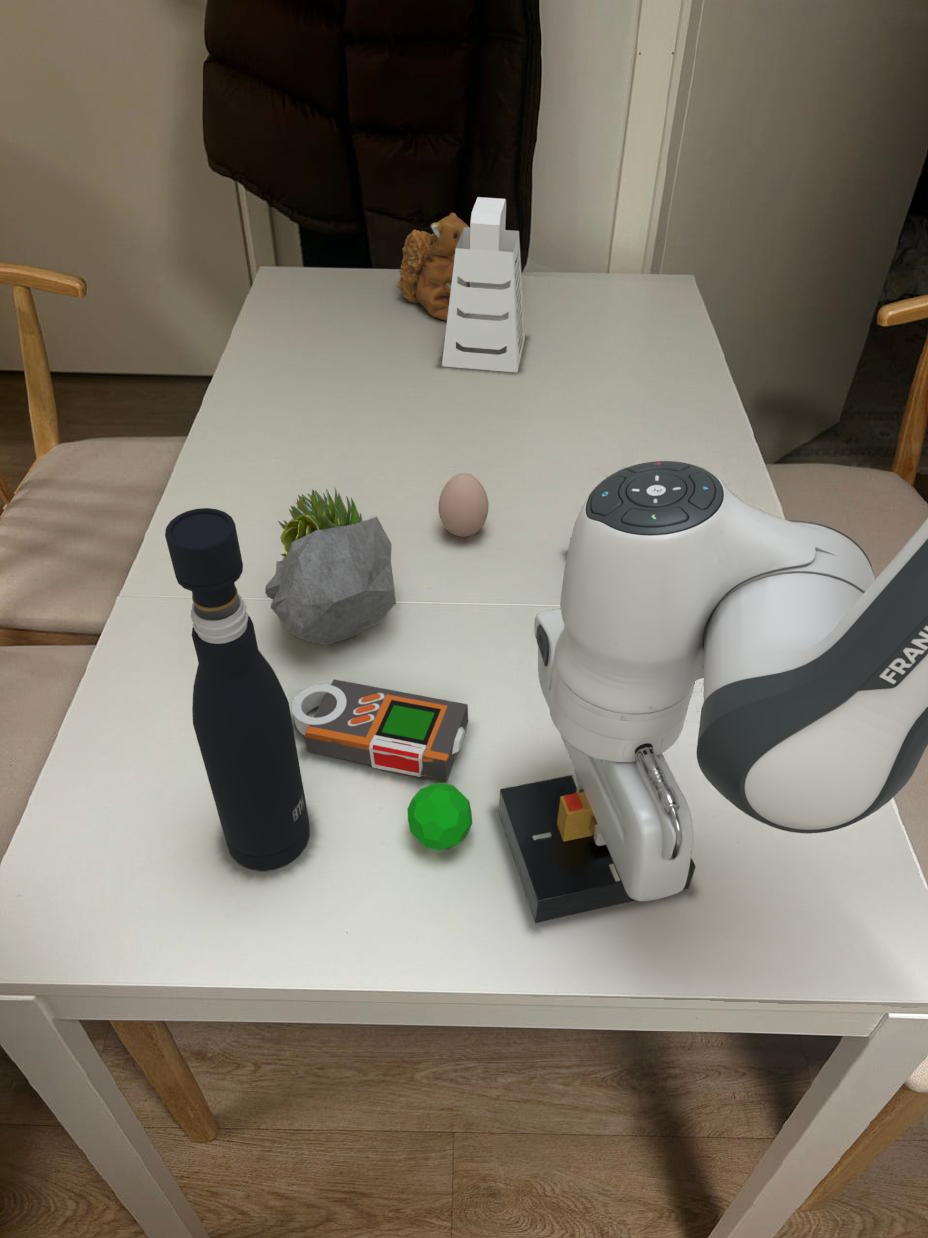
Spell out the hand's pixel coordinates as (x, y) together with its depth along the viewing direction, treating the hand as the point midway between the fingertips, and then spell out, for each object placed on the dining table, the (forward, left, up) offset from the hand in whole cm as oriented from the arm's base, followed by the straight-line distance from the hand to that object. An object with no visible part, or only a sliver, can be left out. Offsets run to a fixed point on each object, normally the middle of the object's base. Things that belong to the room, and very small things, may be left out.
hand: (596, 819), depth 70 cm
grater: (-13, -81, -4) cm, 82 cm away
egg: (0, -41, -4) cm, 41 cm away
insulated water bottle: (+24, -7, -4) cm, 25 cm away
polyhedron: (+11, -4, -4) cm, 12 cm away
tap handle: (0, 0, -1) cm, 1 cm away
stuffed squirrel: (-10, -98, -4) cm, 99 cm away
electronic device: (+14, -15, -4) cm, 21 cm away
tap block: (0, 0, -4) cm, 4 cm away
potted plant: (+16, -32, -4) cm, 36 cm away
